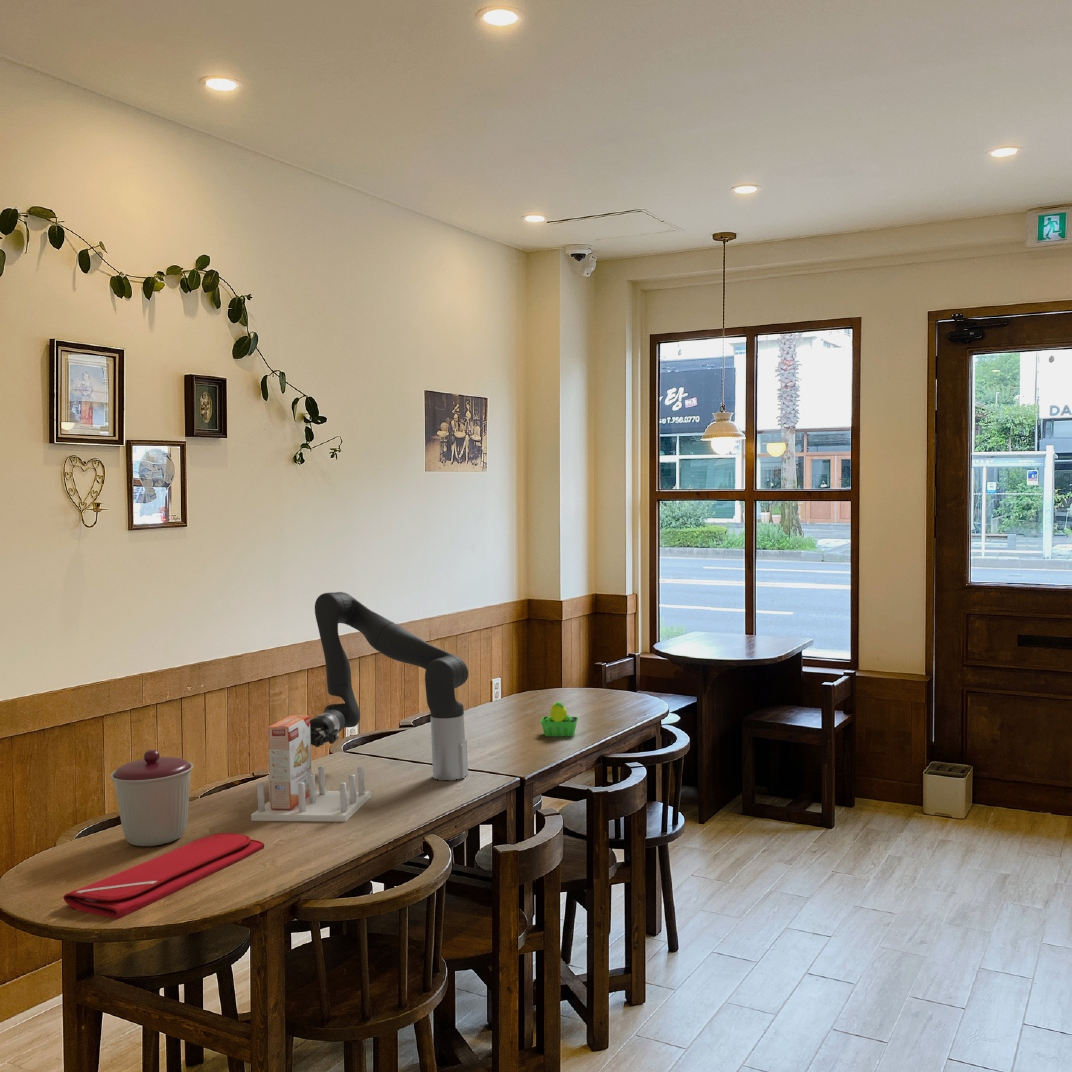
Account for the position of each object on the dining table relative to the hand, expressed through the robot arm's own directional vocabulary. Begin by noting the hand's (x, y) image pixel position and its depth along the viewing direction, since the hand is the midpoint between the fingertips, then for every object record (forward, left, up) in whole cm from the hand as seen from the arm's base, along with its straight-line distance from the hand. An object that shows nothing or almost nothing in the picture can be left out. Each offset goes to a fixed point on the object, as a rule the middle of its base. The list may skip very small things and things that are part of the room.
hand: (300, 743), depth 262 cm
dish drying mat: (+9, +53, -16) cm, 55 cm away
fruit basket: (-59, -70, -15) cm, 93 cm away
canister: (+24, +31, -15) cm, 42 cm away
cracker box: (0, +6, -14) cm, 15 cm away
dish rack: (-5, +7, -15) cm, 17 cm away
